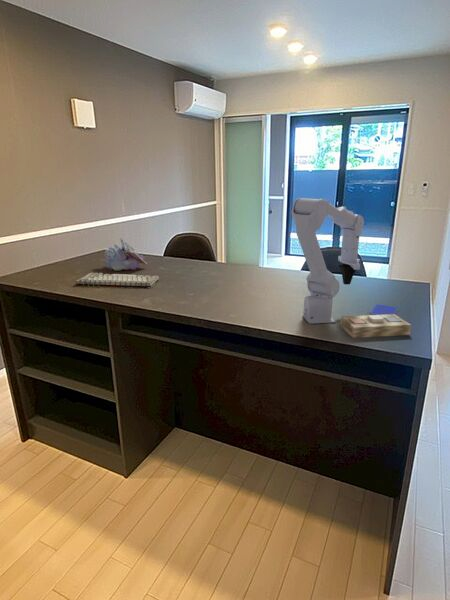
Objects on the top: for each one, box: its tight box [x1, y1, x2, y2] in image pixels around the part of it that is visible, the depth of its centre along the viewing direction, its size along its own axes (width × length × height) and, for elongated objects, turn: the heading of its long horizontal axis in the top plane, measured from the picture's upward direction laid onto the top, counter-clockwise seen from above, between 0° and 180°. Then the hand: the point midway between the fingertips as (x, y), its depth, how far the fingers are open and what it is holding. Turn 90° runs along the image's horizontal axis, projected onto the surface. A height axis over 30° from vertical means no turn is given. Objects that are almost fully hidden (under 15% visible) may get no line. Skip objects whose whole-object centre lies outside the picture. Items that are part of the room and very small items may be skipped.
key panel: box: [340, 314, 412, 339], centre depth 127 cm, size 19×10×4 cm, turn 97°
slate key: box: [384, 317, 401, 322], centre depth 128 cm, size 4×4×2 cm
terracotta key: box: [350, 319, 366, 324], centre depth 126 cm, size 4×4×2 cm
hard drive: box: [368, 304, 399, 315], centre depth 144 cm, size 2×8×12 cm
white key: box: [367, 314, 384, 323], centre depth 127 cm, size 4×4×2 cm
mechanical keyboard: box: [74, 272, 160, 289], centre depth 185 cm, size 38×19×3 cm, turn 85°
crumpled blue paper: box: [104, 237, 148, 272], centre depth 211 cm, size 20×22×18 cm
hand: (346, 283), depth 143 cm, fingers closed
